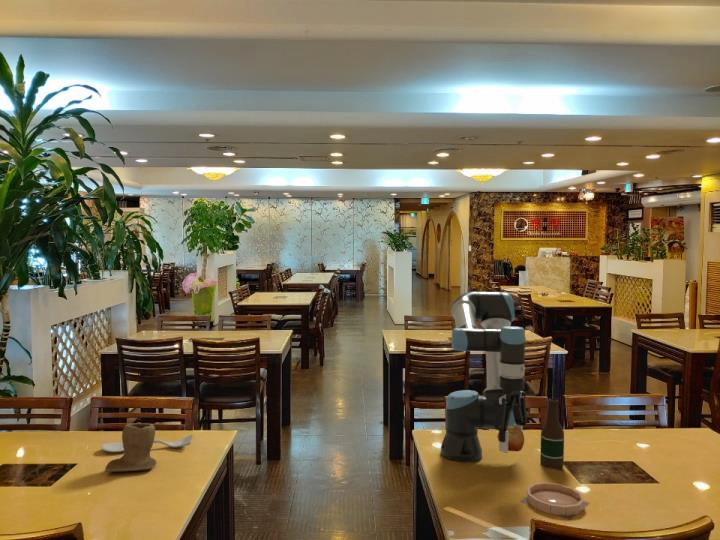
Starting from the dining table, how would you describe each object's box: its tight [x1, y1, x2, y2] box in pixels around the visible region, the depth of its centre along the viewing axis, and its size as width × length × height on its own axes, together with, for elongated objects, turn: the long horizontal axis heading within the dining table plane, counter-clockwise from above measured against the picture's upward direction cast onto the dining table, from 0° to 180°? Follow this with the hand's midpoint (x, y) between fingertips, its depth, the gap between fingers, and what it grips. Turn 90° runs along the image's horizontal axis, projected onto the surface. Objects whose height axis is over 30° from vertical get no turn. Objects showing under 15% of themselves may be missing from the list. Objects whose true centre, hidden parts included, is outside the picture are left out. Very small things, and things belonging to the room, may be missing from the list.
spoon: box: [101, 434, 194, 453], centre depth 196 cm, size 9×32×4 cm, turn 102°
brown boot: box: [104, 422, 157, 473], centre depth 178 cm, size 15×12×15 cm
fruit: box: [497, 426, 525, 452], centre depth 164 cm, size 8×8×8 cm
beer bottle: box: [539, 398, 565, 472], centre depth 183 cm, size 8×8×24 cm
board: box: [520, 496, 590, 520], centre depth 155 cm, size 15×14×1 cm
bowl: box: [526, 481, 585, 516], centre depth 155 cm, size 16×16×2 cm
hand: (510, 448), depth 163 cm, fingers closed on fruit, 8 cm apart
